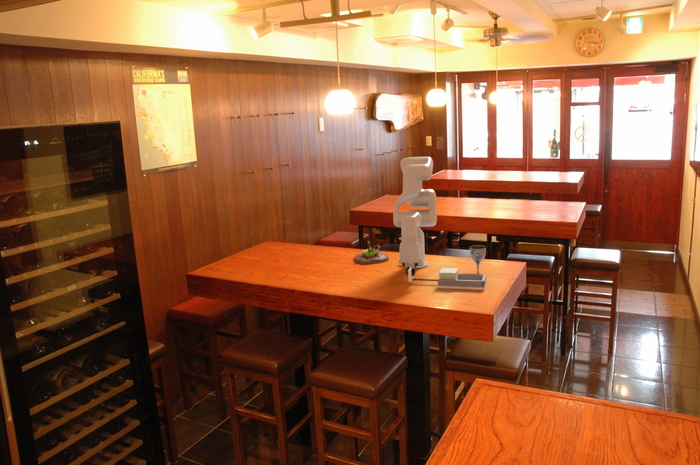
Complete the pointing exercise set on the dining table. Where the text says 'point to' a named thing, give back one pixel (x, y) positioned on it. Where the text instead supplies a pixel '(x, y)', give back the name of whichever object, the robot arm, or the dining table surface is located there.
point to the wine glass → (477, 254)
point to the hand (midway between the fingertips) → (410, 275)
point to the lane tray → (464, 282)
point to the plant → (371, 256)
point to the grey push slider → (443, 274)
